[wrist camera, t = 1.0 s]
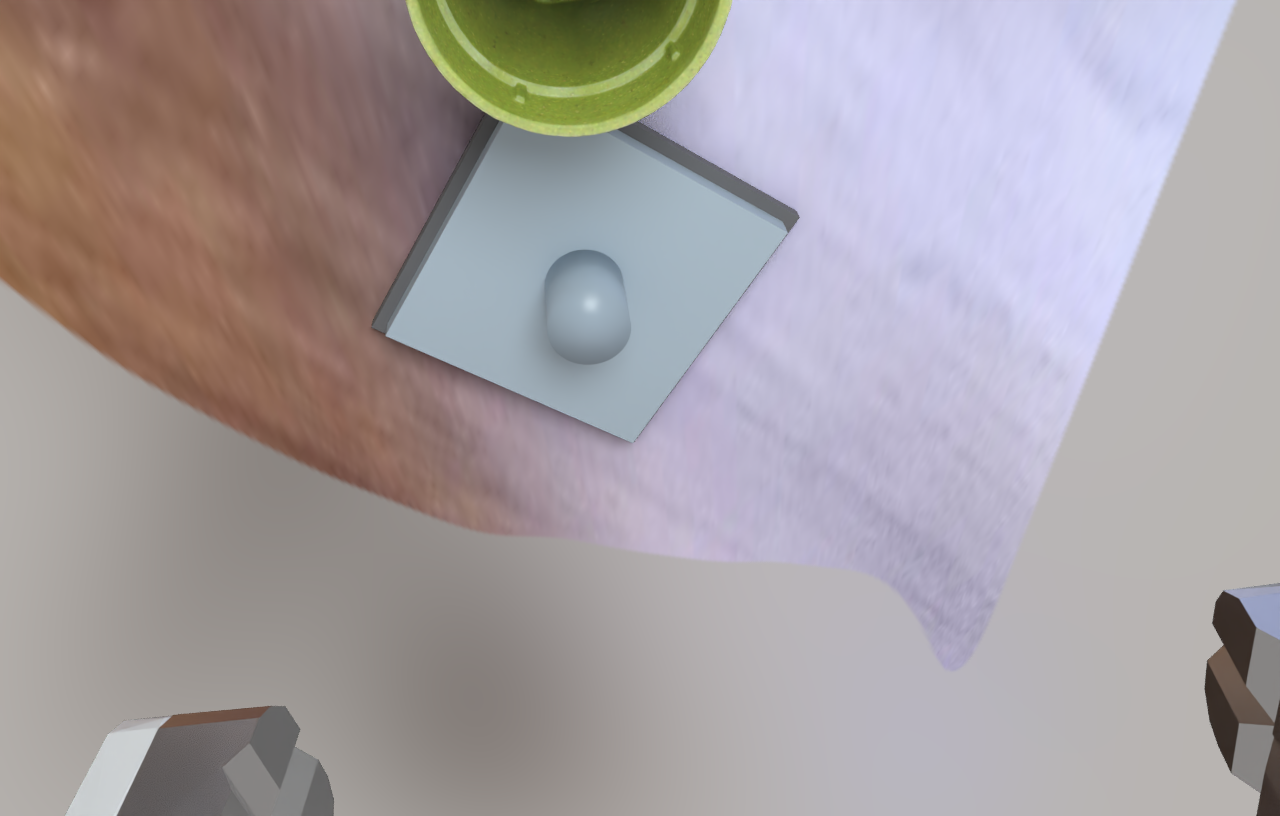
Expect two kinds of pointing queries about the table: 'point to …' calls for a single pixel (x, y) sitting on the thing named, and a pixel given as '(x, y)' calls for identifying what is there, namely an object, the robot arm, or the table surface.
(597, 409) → the lid
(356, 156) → the table surface
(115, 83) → the table surface
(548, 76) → the plant pot
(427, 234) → the mat
